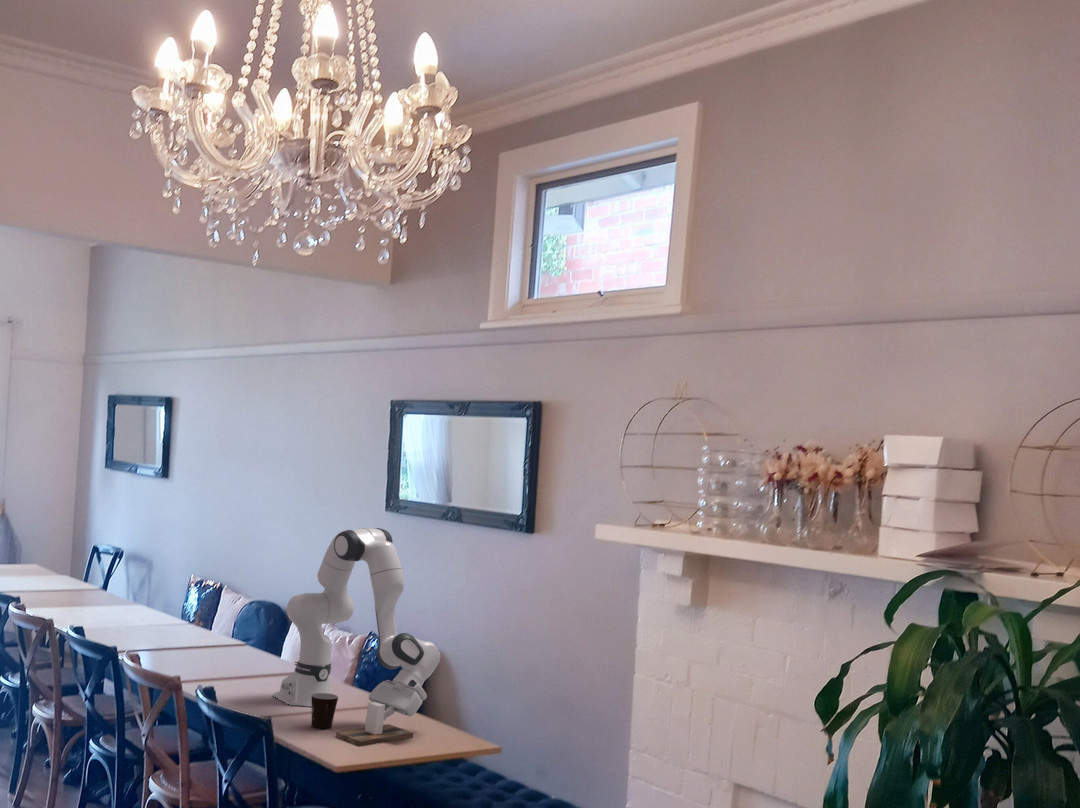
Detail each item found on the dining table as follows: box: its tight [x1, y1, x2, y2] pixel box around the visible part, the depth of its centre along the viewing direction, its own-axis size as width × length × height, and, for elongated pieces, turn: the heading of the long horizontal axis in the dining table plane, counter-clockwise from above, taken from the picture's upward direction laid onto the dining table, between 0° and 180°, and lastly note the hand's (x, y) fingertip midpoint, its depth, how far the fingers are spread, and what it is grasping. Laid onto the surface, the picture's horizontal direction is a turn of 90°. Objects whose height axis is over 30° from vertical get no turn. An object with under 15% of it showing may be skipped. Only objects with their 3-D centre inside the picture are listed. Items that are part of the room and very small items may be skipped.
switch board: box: [335, 723, 414, 747], centre depth 325 cm, size 12×22×2 cm, turn 139°
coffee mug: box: [311, 693, 339, 731], centre depth 330 cm, size 12×9×10 cm
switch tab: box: [364, 701, 386, 735], centre depth 325 cm, size 5×3×9 cm, turn 49°
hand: (379, 718), depth 326 cm, fingers closed, pressing on switch tab
